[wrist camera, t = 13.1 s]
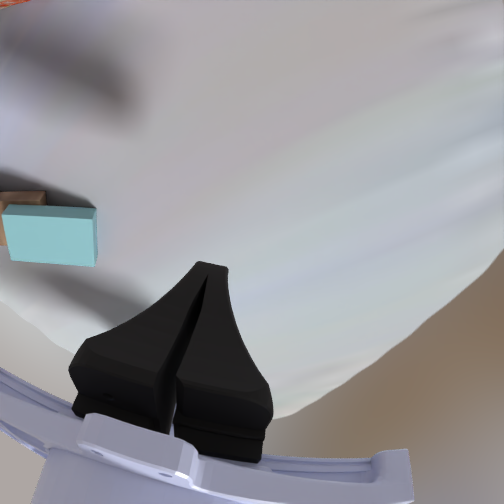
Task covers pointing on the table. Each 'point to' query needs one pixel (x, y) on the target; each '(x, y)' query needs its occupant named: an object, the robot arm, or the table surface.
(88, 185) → the table surface
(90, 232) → the domino
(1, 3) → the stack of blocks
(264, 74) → the table surface
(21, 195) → the domino
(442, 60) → the table surface
